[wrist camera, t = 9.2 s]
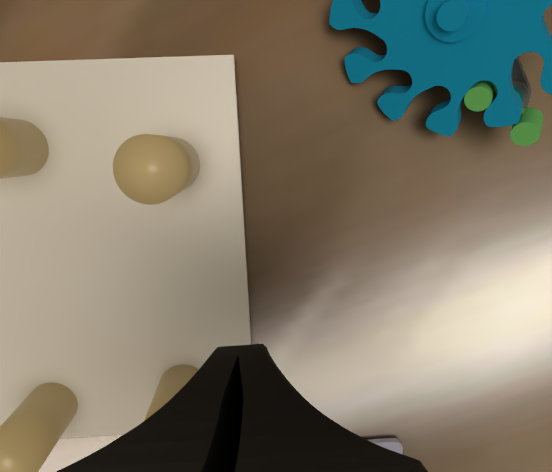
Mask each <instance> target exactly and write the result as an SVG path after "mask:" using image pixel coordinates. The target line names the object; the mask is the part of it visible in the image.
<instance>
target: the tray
mask: <svg viewBox="0 0 552 472" xmlns="http://www.w3.org/2000/svg"><path fill="white" fill-rule="evenodd" d="M237 345H251V328H250V312H249V295H248V278H247V261H246V244H245V227H244V210H243V193H242V176H241V159H240V142H239V125H238V109H237V92H236V75H235V59H234V55H213V56H183V57H152V58H122V59H92V60H61V61H31V62H1V63H0V472H38V471H39V469H40V468H41V466H42V465H43V463H44V462H45V460H46V458H47V457H48V455H49V454H50V452H51V451H52V449H53V448H54V446H55V445H56V443H57V442H58V440H59V439H68V438H82V437H96V436H109V435H123V434H126V433H127V432H129V431H130V430H132V429H133V428H135V427H136V426H138V425H139V424H141V423H142V422H143V421H145V420H146V419H147V418H149V417H150V416H151V415H153V414H154V413H155V412H156V411H158V410H159V409H160V408H161V407H162V406H164V405H165V404H166V403H167V402H168V401H169V400H170V399H171V398H172V397H173V396H174V395H175V394H176V393H178V392H179V391H180V390H181V389H182V388H183V387H184V386H185V384H186V383H187V382H188V381H189V380H190V379H191V378H192V377H193V376H194V374H195V373H196V372H197V371H198V370H199V369H200V367H201V366H202V365H203V364H204V363H205V361H206V360H207V359H208V358H209V356H210V355H211V354H212V353H213V351H214V350H215V349H216V348H217V347H221V346H237Z"/></svg>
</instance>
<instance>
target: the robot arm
mask: <svg viewBox="0 0 552 472" xmlns="http://www.w3.org/2000/svg"><path fill="white" fill-rule="evenodd" d="M57 472H428V471H427V470H426V469H425V467H424V466H423V465H422V463H421V462H420V461H419V460H416V459H413V458H411V457H408V456H405V455H403V447H402V444H401V442H400V441H399V440H398V439H396V438H383V439H370V440H366V439H364V438H362V437H360V436H358V435H356V434H354V433H352V432H350V431H349V430H347V429H345V428H343V427H342V426H340V425H339V424H337V423H336V422H334V421H333V420H331V419H329V418H328V417H326V416H325V415H324V414H322V413H321V412H320V411H318V410H317V409H316V408H315V407H313V406H312V405H311V404H310V403H309V402H308V401H307V400H306V399H305V398H304V397H302V396H301V394H300V393H299V392H298V391H297V390H296V389H295V388H294V387H293V386H292V385H291V384H290V382H289V381H288V380H287V379H286V378H285V376H284V375H283V374H282V372H281V371H280V370H279V368H278V367H277V366H276V364H275V363H274V361H273V359H272V358H271V356H270V354H269V352H268V350H267V347H265V346H264V345H263V344H252V345H237V346H221V347H217V348H216V349H215V350H214V351H213V353H212V354H211V355H210V356H209V358H208V359H207V360H206V361H205V363H204V364H203V365H202V366H201V367H200V369H199V370H198V371H197V372H196V373H195V374H194V376H193V377H192V378H191V379H190V380H189V381H188V382H187V383H186V384H185V386H184V387H183V388H182V389H181V390H180V391H179V392H178V393H176V394H175V395H174V396H173V397H172V398H171V399H170V400H169V401H168V402H167V403H166V404H165V405H164V406H162V407H161V408H160V409H159V410H158V411H156V412H155V413H154V414H153V415H151V416H150V417H149V418H147V419H146V420H145V421H143V422H142V423H141V424H139V425H138V426H136V427H135V428H133V429H132V430H130V431H129V432H127V433H126V434H124V435H123V436H121V437H119V438H118V439H116V440H115V441H113V442H112V443H110V444H109V445H107V446H105V447H103V448H102V449H100V450H98V451H96V452H94V453H93V454H91V455H89V456H87V457H85V458H83V459H81V460H79V461H77V462H75V463H73V464H71V465H69V466H67V467H65V468H63V469H61V470H59V471H57Z"/></svg>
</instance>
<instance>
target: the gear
mask: <svg viewBox="0 0 552 472" xmlns="http://www.w3.org/2000/svg"><path fill="white" fill-rule="evenodd" d="M380 4H381V6H380V10H379V13H370V12H369V11H367V10H366V8H365V7H364V5H363V3H362V1H361V0H333V2H332V6H331V11H330V20H329V24H330V25H331V26H332V27H333V28H335V29H337V30H344V29H348V28H361V29H364V30H368V31H370V32H372V33H373V34H375V35H377V36H378V37H380V38H381V39H383V40H384V42H385V43H386V45H387V54H386V55H378V54H376V53H374V52H372V51H371V50H369V49H368V48H365V47H357V48H355V49H354V50H352V51H351V52H350V53H349V54H348V55H347V56H346V57H345V68H346V72H347V75H348V77H349V80H350V82H352V83H361V82H363V81H364V80H365V79H366V78H367V77H369V76H370V75H372V74H373V73H376V72H378V71H382V70H391V69H393V70H404V71H406V72H408V73H409V74H410V76H411V78H412V84H411V85H409V86H391V87H389V88H387V89H386V90H385V92H384V93H383V94H382V95H381V97H380V98H379V99H378V101H377V104H378V106H379V108H380V109H381V110H382V112H383V113H384V114H385V115H386V116H387V117H389V118H390V119H391V120H392V121H394V120H397V119H399V118H401V117H402V116H403V114H404V113H405V111H406V110H407V108H408V107H409V105H410V102H411V100H412V99H413V98H414V97H415V96H417V95H418V94H419V93H421V92H423V91H425V90H427V89H429V88H431V87H434V86H443V87H445V88H447V89H448V90H449V92H450V94H451V98H450V99H449V100H447V101H444V102H442V103H440V104H438V105H436V106H435V107H434V108H433V110H432V111H431V113H430V115H429V116H428V118H427V121H426V127H427V128H428V129H430V130H431V131H434V132H436V133H439V134H442V135H446V136H451V135H453V134H454V132H455V131H456V129H457V127H458V125H459V123H460V120H461V103H462V99H463V97H464V96H465V97H464V103H465V105H466V107H467V108H468V109H470V110H472V111H482V110H485V109H486V110H485V113H484V122H485V124H486V125H487V126H490V127H502V126H509V125H513V126H512V130H511V133H510V137H511V139H512V141H513V142H514V143H516V144H517V145H521V146H528V145H531V144H533V143H535V142H536V141H537V140H538V139H539V137H540V133H541V128H542V123H543V114H542V113H541V111H539V110H538V109H536V108H526V107H527V105H528V103H529V99H530V95H531V87H530V84H529V82H528V79H527V77H526V74H525V69H524V67H523V66H522V64H521V62H520V59H519V57H518V56H519V55H520V54H522V53H525V52H536V53H538V54H540V55H541V56H542V57H543V59H544V67H543V71H542V75H541V86H542V88H543V89H544V90H545V91H546V92H547V93H549V94H551V95H552V36H551V35H550V33H549V31H548V29H547V26H546V24H545V21H544V18H543V13H544V11H545V10H546V9H547V8H548V7H549V6H550V5H551V4H552V0H380ZM465 94H466V95H465Z"/></svg>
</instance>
